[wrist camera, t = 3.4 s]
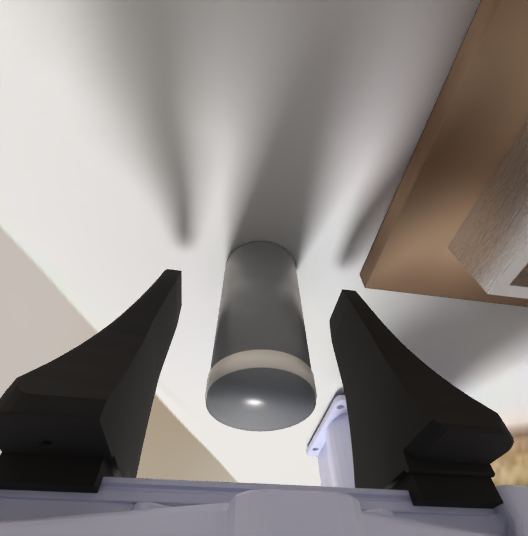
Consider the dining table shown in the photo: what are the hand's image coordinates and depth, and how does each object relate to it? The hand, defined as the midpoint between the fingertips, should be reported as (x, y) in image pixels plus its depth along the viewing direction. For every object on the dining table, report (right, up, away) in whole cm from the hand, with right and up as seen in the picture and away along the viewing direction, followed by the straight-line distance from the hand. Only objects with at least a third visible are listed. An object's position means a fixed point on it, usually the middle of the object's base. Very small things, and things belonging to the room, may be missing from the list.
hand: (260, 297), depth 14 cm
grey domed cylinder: (0, +1, +2) cm, 2 cm away
